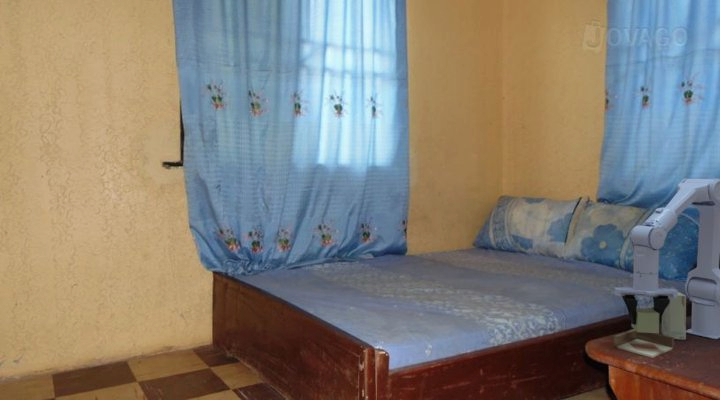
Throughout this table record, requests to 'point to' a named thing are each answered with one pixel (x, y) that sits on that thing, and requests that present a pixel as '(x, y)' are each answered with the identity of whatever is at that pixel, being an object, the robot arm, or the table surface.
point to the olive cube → (646, 321)
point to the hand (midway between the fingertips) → (644, 323)
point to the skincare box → (675, 317)
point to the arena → (644, 343)
